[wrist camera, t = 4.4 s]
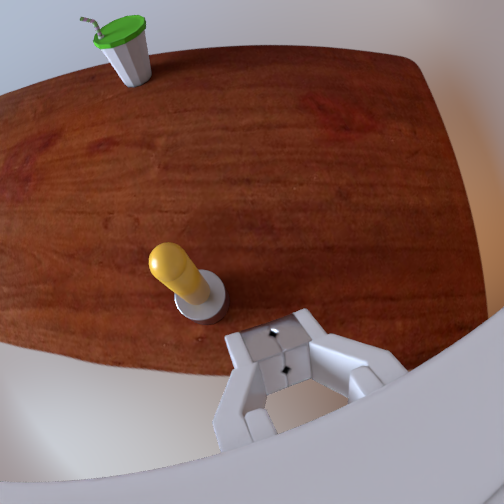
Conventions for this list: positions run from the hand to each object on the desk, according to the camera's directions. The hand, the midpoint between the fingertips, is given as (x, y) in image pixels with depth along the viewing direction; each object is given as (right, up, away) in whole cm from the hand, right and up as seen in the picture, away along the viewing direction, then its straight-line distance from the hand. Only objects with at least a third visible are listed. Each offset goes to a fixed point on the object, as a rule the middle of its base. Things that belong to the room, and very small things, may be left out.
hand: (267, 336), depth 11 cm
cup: (-18, +30, +33) cm, 48 cm away
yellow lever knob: (-5, -2, +20) cm, 21 cm away
